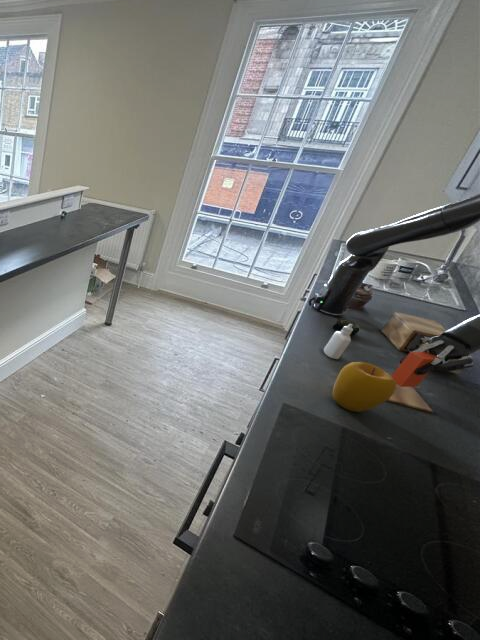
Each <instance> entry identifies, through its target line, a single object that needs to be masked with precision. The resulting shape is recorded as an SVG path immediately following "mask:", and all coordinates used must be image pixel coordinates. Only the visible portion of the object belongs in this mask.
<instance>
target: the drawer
mask: <svg viewBox="0 0 480 640" xmlns="http://www.w3.org/2000/svg"><path fill="white" fill-rule="evenodd" d="M417 335H418V333H415V334H414V336H413V337H412V338H411V340H410V341H409V342H408V343H407V345H406V346H405V347H406V348H407V349H408V346H409V345H410V344H411V343H412V341H413V340H414V339H415V338H416V337H417ZM424 336H425V337H430V338H432V337H431V336H427V335H424ZM426 345H429V342H427V343H425V344H422V345H421V346H420V347H419V349H420V348H421V347H423V346H426ZM433 356H434V355H433ZM435 357H437V356H435ZM468 358H470V359H472V360H473V356H472V355H471V354H469V355H468ZM458 360H459V359H452V360H449V361H448V362H453V361H458ZM448 362H447V363H448ZM465 370H466V368H464V369H459V370H454V371H449V372H450V373H455V374H460V373H461V371H465Z"/></svg>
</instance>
